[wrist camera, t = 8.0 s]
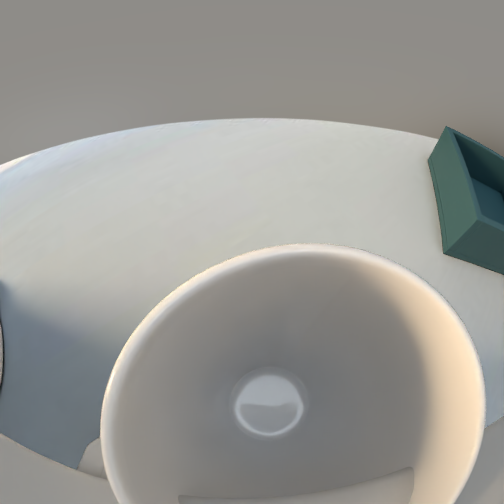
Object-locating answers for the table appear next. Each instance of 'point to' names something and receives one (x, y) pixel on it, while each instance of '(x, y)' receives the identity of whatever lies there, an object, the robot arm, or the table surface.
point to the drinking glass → (294, 383)
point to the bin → (469, 199)
